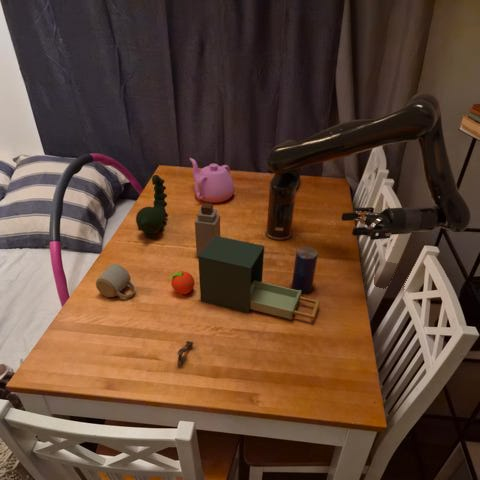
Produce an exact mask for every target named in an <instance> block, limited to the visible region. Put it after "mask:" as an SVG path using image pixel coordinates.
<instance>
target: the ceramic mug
mask: <svg viewBox="0 0 480 480" xmlns="http://www.w3.org/2000/svg"><path fill="white" fill-rule="evenodd" d="M127 286H129V287H131V289H132V292H131V293H130V294H129V293H128V294H123V293H121V292H122V291H123V290H124V289H125V288H126V287H127ZM95 287H96V289H97V290H98V292H99V293H100V294H101V295H103V296H104V297H107V298H114V297H116V296H118V297H120V298H122V299H131V298H132V297H133V296H134V295H135V293H136V287H135V285H134V284H133V282H132V281H131V275H130V274H129V272H128V270H127V269H126V268H125V267H123V266H122V265H120V264H118V263H111V264H109V266H108V267H107V268H106V269H105V270H104V271H103V272H102V273H101V274H100V275H99V276H98V278H97V279H96V281H95Z"/></svg>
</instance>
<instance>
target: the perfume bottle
mask: <svg viewBox="0 0 480 480" xmlns="http://www.w3.org/2000/svg"><path fill="white" fill-rule="evenodd" d="M196 216H197V217H196V219H195V221H194V232H195V248H196V258H197V259H198V256H199V255H200V253H201V252H202V251H203V250H204V249H205V247H206V246H207V245H208V244H209V242H210V241H211V240H212V239H213V238H214V236H220V237H221V214H218V208H214V203H210V202H203V203H202V204H201V206H200V209H199V211H198V213H197V215H196Z"/></svg>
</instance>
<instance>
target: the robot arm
mask: <svg viewBox="0 0 480 480" xmlns="http://www.w3.org/2000/svg"><path fill="white" fill-rule="evenodd" d="M441 112H442V109H441V104H440V101H439V99H438V98H437V96H435V94H433V93H431V92H426V91H423V92H419V93H416V94H415V95H413V96H412V97H411V98H410V99H409V100H408V101H407V103H406V104H405V105H404V107H402V108H400V109H398V110H396V111H394V112H392V113H389V114H387V115H384V116H381V117H377V118H373V119H352V120H347V121H344V122H341V123H338V124H335V125H333V126H330V127H328V128H325V129H323V130H321V131H319V132H317V133H315V134H314V135H311V136H309V137H308V138H305V139H303V140H301V141H298V142H297V141H296V140H293V139H287V140H284V141H282V142H280V143H279V144H276V145H275V146H273V148H272V149H271V150H270V151H269V152H268V154H267V158H266V165H267V168H268V170H270V171H271V172H272V173H273V174H274V175H273V176H272V178H271V180H270V182H269V191H268V203H267V204H268V206H267V219H266V220H267V221H266V230H265V234H266V237H268V238H269V239H271V240H274V241H285V240H288V239H290V238H291V236H292V227H293V219H294V211H295V203H296V194H297V191H298V189H299V187H300V184H301V179H300V178H301V173H302V168H304V167H306V166H310V165H315V164H320V163H326V162H329V161H330V162H331V161H334V160H338V159H342V158H346V157H350V156H353V155H356V154H360V153H363V152H366V151H370V150H373V149H376V148H379V147H382V146H387V145H392V144H399V143H405V142H412V141H416V140H417V142H418V144H419V147H420V151H421V156H422V157H421V158H422V166H423V174H424V179H425V184H426V187H427V190H428V193H429V195H430V200H431V201H432V202H433V203H434V204H435V205H432V206H424V207H423V206H420V207H412V206H411V207H407V206H406V207H404V206H403V207H389V208H388V207H387V208H385V209H383V210H382V211H381V212H374V211H375V208H374V207H368V206H367V207H354V208H353V209H354V210H353V212H351V211H350V212H343V213H342V214H341V217H340V219H341V221H343V222H346V221H349V222H350V221H357V222H359V223H360V224H363V225H366V226H357V227H356V226H355V227H352V231H351V235H352V236H353V237H356V236H357V237H359V236H365V237H369V239H370V240H372V241H377V240H385V239H390V238H391V236H393V235H408V234H414V233H424V232H425V233H426V232H430V231H433V230H434V229H435V228H437V229H439V228H441V229H444V230H446V231H450V232H453V233H460V232H463V231H465V230H466V229H467V228H468V227H469V225H470V223H471V219H472V218H471V217H472V215H471V209H470V207H469V205H468V204H467V202H466V201H465V199H464V197H463V195H462V194H461V193H460V191H459V189H458V185H457V182H456V181H457V180H456V177H455V175H454V172H453V167H452V165H451V162H450V157H449V155H448V150H447V145H446V141H445V136H444V131H443V130H444V129H443V121H442V113H441Z"/></svg>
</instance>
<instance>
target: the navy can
mask: <svg viewBox="0 0 480 480" xmlns="http://www.w3.org/2000/svg"><path fill="white" fill-rule="evenodd" d="M318 256H319V253H318V251H317V250H316V249H315V248H313V247H311V246H302V247H299V248H298V249H297V250H296V251H295V258H294V266H293V274H292V282H291V289H294V290H298V291H299V290H301V295H303V294H308V293H311V292H312V290H313V285H314V280H315V273H316V268H317V262H318Z"/></svg>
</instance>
